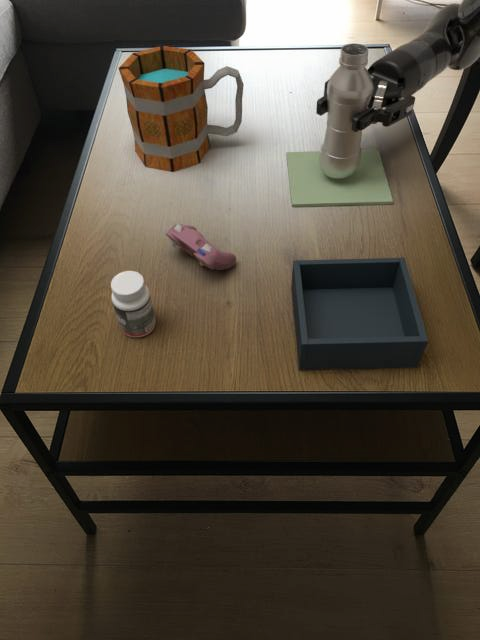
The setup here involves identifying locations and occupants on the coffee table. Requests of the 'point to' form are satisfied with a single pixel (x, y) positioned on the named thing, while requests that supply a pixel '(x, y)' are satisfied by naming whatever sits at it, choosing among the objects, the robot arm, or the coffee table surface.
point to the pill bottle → (132, 304)
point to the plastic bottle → (345, 112)
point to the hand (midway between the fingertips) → (336, 117)
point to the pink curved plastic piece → (199, 247)
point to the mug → (172, 106)
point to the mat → (337, 182)
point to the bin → (356, 314)
